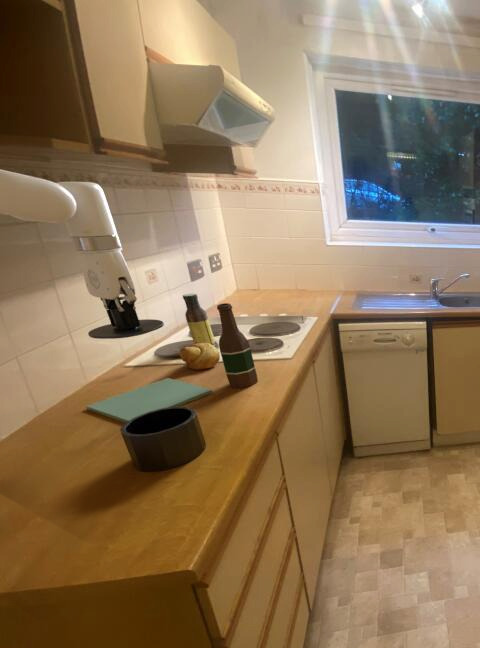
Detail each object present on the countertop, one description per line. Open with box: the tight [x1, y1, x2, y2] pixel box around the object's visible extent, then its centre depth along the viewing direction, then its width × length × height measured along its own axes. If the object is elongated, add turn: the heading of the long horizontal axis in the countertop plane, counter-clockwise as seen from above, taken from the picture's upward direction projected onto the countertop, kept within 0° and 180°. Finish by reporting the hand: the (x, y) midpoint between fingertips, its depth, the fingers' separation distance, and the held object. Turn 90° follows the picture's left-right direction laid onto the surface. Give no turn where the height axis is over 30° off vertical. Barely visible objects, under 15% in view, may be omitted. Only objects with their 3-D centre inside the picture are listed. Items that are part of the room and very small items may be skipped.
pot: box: [119, 406, 207, 473], centre depth 93 cm, size 13×13×8 cm
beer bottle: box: [216, 302, 259, 389], centre depth 124 cm, size 8×8×24 cm
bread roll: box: [178, 343, 221, 370], centre depth 141 cm, size 13×10×8 cm
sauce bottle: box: [182, 292, 217, 347], centre depth 152 cm, size 6×6×20 cm
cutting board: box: [85, 377, 214, 424], centre depth 118 cm, size 20×20×1 cm
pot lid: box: [87, 307, 165, 340], centre depth 99 cm, size 13×13×6 cm
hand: (126, 325), depth 100 cm, fingers closed on pot lid, 3 cm apart
